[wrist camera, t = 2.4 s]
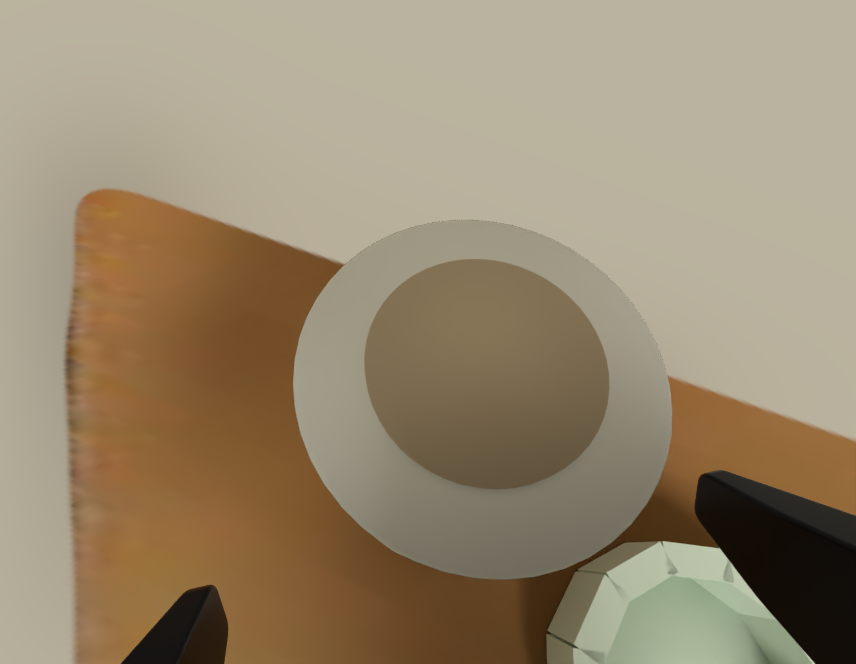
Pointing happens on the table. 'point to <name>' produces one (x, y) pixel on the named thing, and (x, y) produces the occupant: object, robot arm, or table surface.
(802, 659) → the holder
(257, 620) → the table surface
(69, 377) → the table surface
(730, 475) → the robot arm
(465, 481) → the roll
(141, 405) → the table surface
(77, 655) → the table surface
